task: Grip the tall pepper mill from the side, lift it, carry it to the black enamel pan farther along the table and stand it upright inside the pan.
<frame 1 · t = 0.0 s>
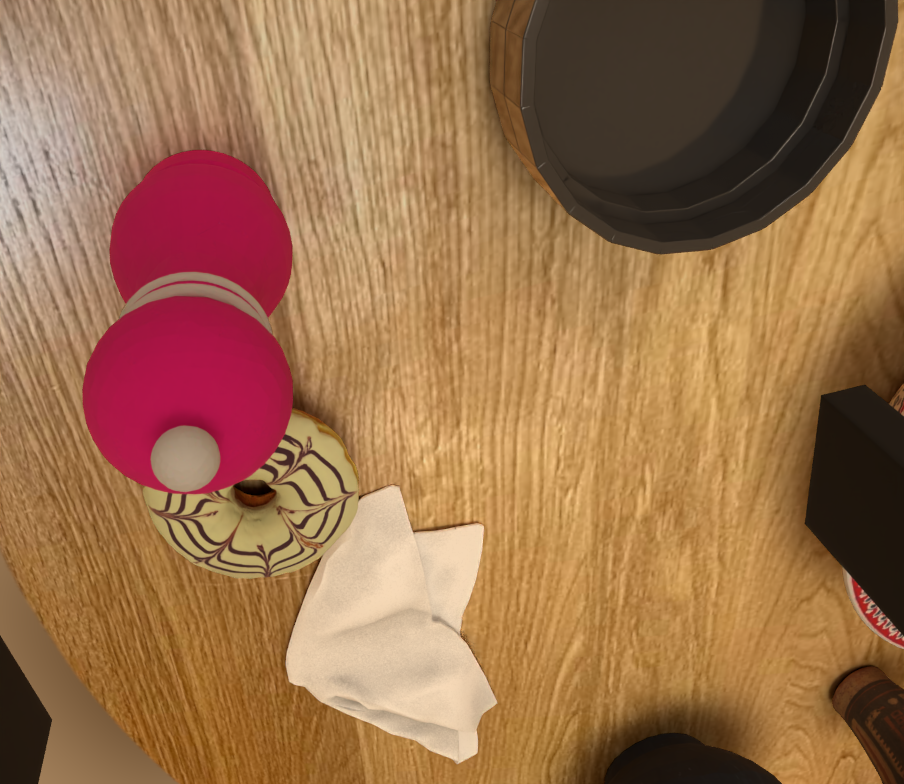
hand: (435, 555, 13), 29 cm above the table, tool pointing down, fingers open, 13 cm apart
pepper mill: (207, 216, 39), on the table
cup: (866, 678, 69), on the table
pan: (657, 42, 39), on the table
bowl: (652, 764, 69), on the table
cloth: (391, 642, 55), on the table
decorated donut: (254, 465, 46), on the table
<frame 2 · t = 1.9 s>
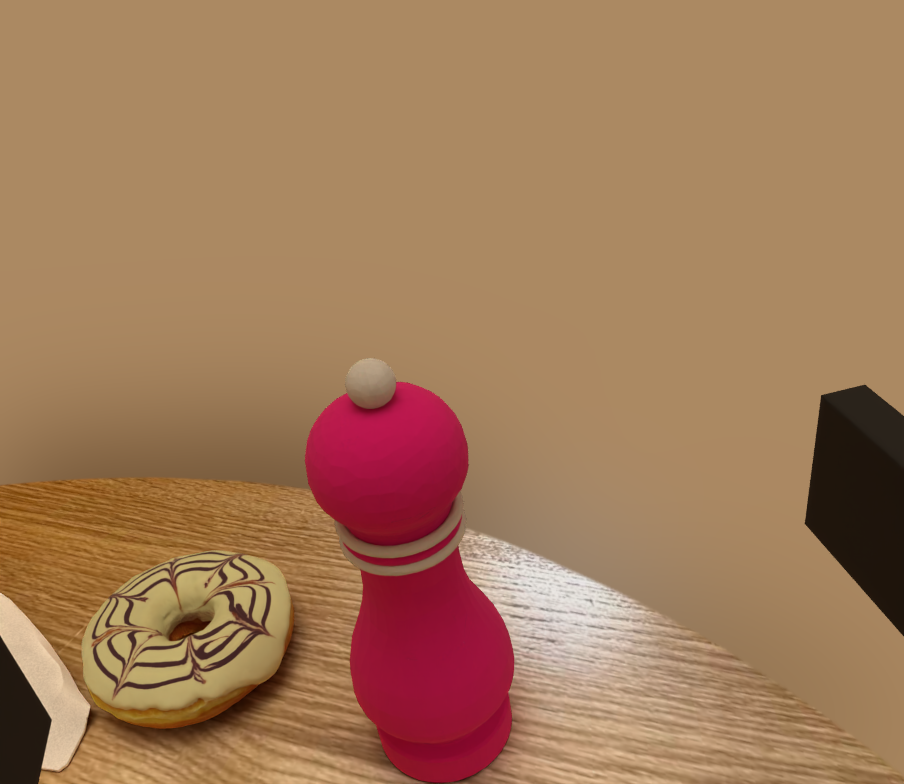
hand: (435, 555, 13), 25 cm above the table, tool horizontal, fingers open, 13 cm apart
pepper mill: (446, 725, 40), on the table
decorated donut: (203, 660, 45), on the table
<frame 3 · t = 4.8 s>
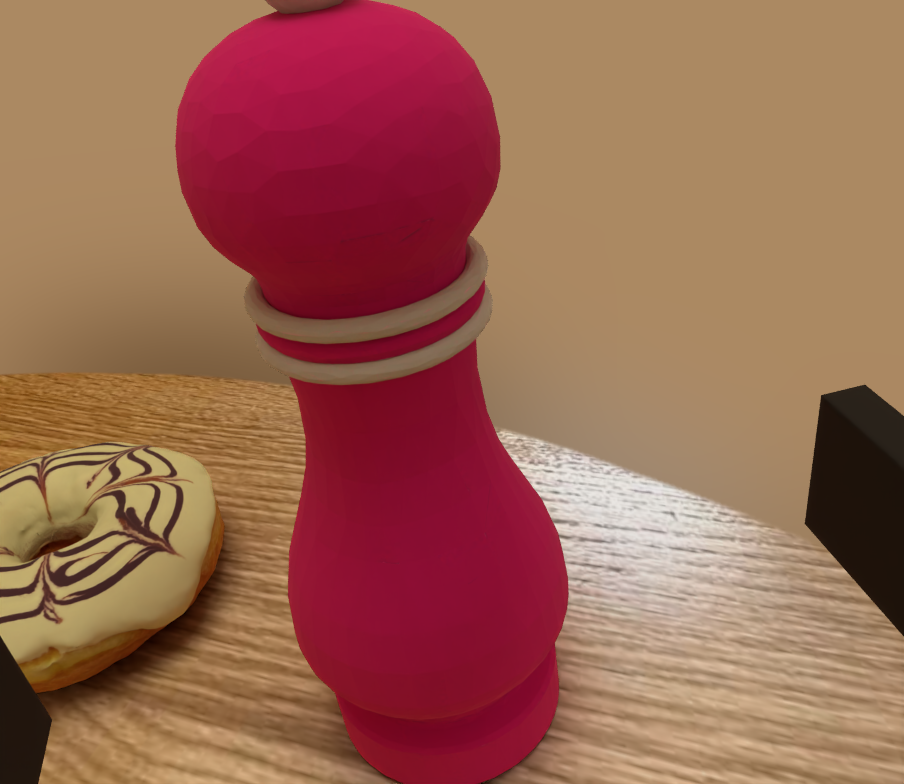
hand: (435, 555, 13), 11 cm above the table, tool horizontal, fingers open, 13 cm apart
pepper mill: (451, 696, 25), on the table
decorated donut: (85, 598, 30), on the table
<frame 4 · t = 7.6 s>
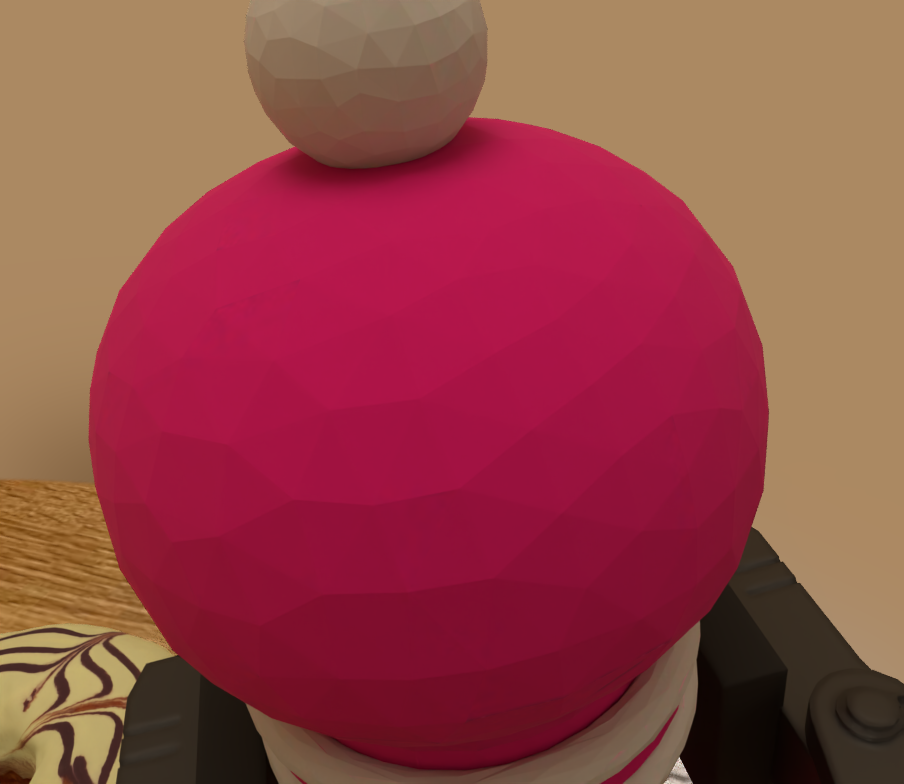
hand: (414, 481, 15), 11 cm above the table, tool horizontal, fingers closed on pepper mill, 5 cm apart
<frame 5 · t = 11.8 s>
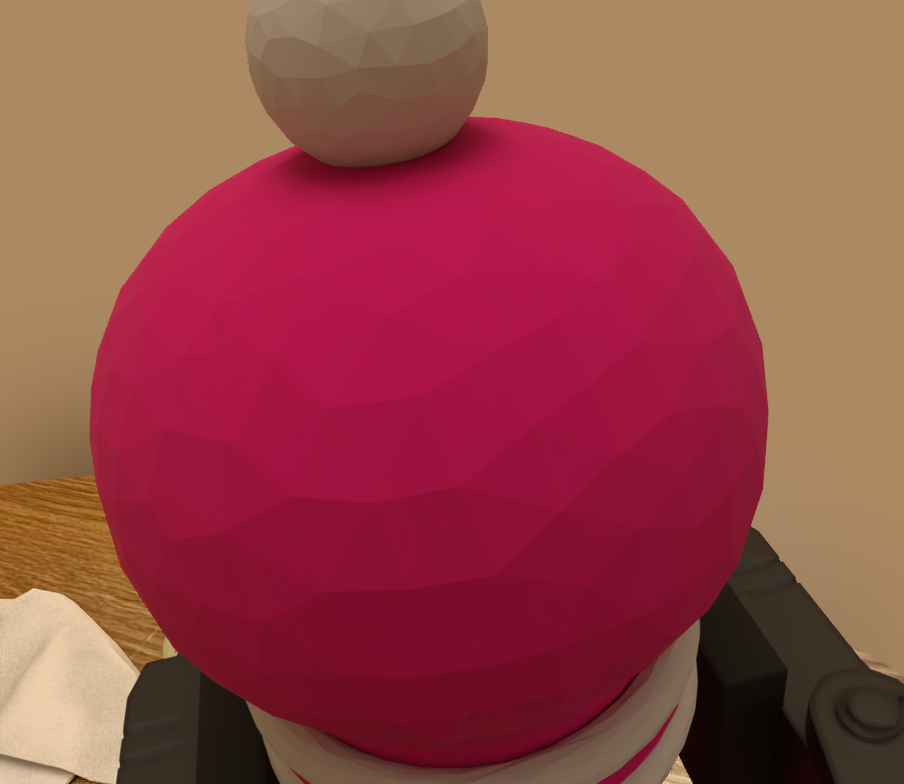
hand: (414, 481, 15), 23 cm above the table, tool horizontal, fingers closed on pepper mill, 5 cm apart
when the fingers open (12 cm above the table, at t = 16.0 s): pepper mill stays where it is, resting on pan.
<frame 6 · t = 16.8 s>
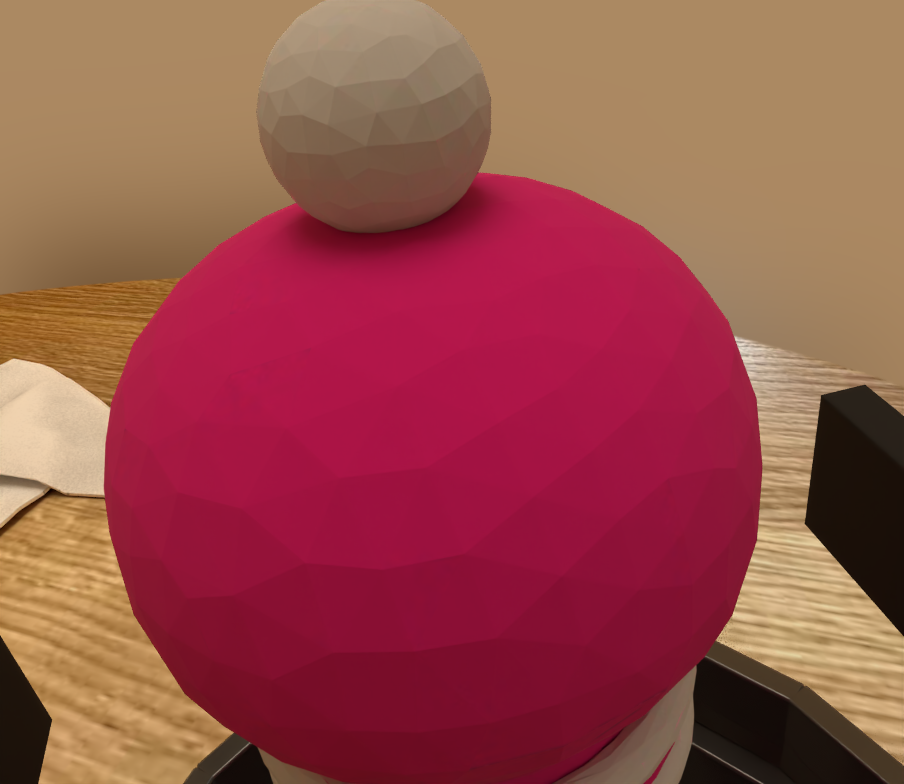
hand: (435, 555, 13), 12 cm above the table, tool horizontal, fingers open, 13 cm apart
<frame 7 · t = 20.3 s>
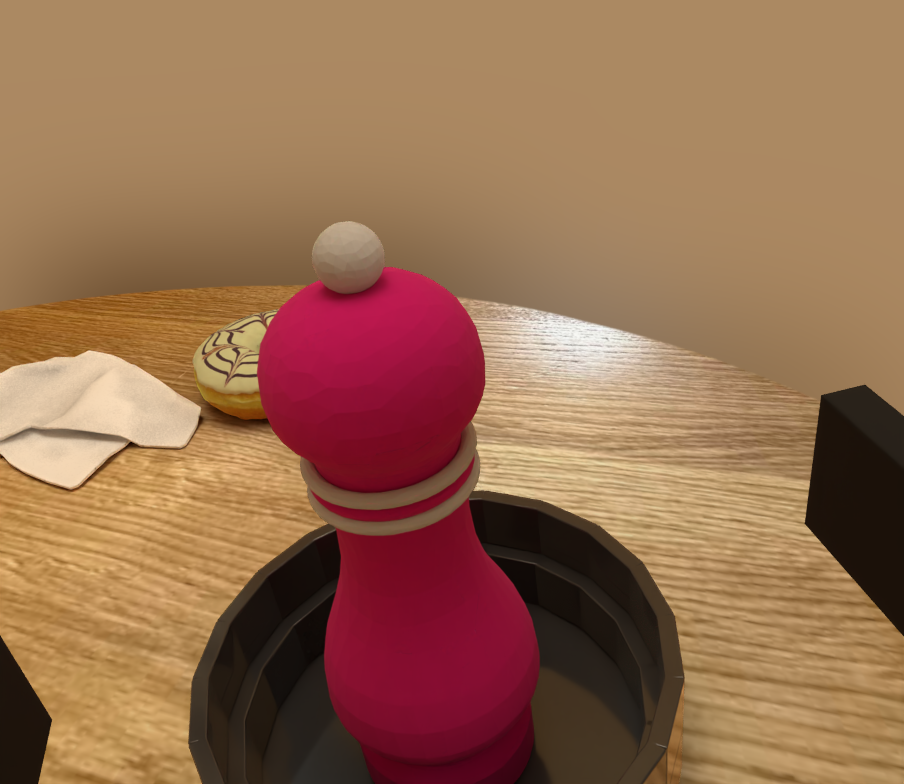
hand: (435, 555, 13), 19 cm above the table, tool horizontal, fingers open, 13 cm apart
pepper mill: (449, 740, 31), resting on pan
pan: (452, 746, 31), on the table
cloth: (38, 415, 56), on the table
decorated donut: (288, 386, 55), on the table
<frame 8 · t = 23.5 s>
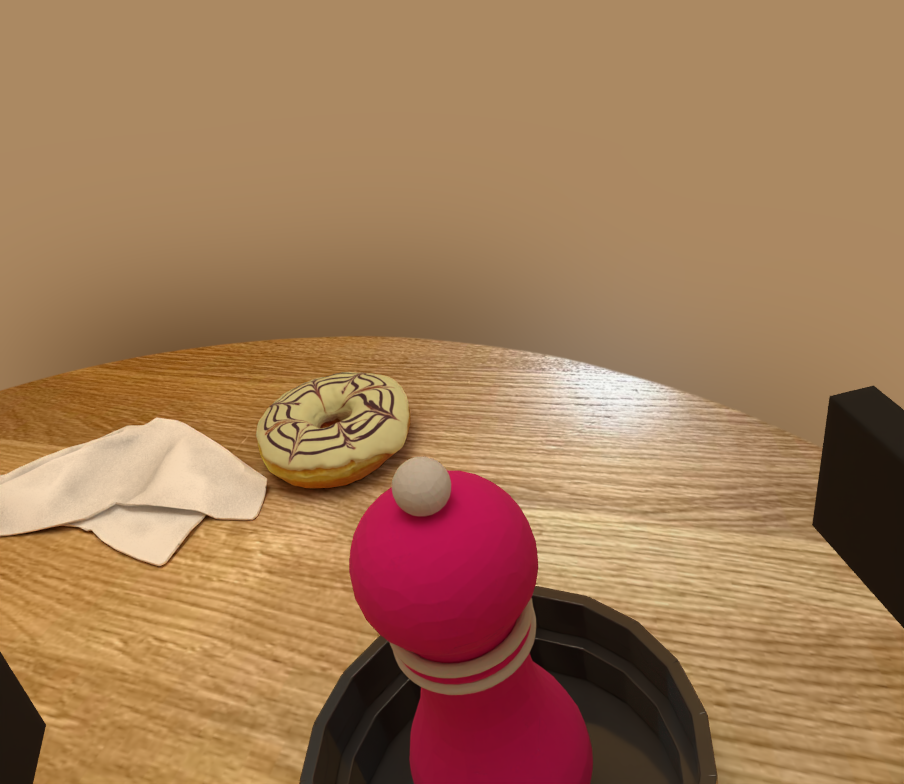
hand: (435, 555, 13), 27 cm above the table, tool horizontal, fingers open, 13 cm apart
cloth: (118, 486, 62), on the table
decorated donut: (343, 449, 60), on the table
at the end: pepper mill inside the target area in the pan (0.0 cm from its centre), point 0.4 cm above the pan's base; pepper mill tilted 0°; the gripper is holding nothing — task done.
